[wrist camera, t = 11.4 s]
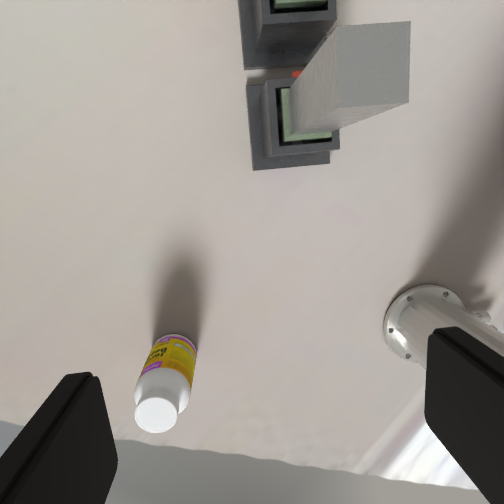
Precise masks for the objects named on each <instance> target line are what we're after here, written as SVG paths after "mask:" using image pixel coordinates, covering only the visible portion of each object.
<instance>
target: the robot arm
mask: <svg viewBox="0 0 504 504" xmlns="http://www.w3.org/2000/svg"><path fill="white" fill-rule="evenodd" d="M490 319H491V318H490V315H489V314H488V313H487V312H483V313H477V314H474V313H472V312H470V311H468V310H467V309H465V308H464V305H463V303H462V301H461V299H460V298H459V297H458V296H457V295H456V294H455V293H453V292H452V291H450V290H448V289H446V288H444V287H442V286H438V285H430V284H427V285H420V286H417V287H413V288H411V289H409V290H407V291H405V292H404V293H403V294H401V295H400V296H399V297H398V298H397V299H396V300H395V301H394V302H393V303H392V305H391V306H390V308H389V309H388V311H387V314H386V316H385V320H384V326H383V332H384V337H385V340H386V343H387V344H388V346H389V347H390V349H391V350H392V351H393V352H394V353H395V354H396V355H397V356H399V357H400V358H402V359H404V360H406V361H409V362H414V363H419V364H420V365H421V366H422V367H423V368H425V369H426V388H425V410H424V413H425V419H426V422H427V424H428V426H429V427H430V429H431V430H432V431H433V433H434V434H435V435H436V436H437V438H438V439H439V440H440V441H441V443H442V444H443V445H444V446H445V448H446V449H447V450H448V451H449V453H450V454H451V455H452V456H453V458H454V459H455V460H456V461H457V463H458V464H459V465H460V466H461V468H462V469H463V470H464V471H465V473H466V474H467V475H468V476H469V478H470V479H471V480H472V481H473V483H474V484H475V485H476V486H477V488H478V489H479V490H480V491H481V493H482V494H483V495H484V496H485V498H486V499H487V500H488V501H489V503H490V504H504V334H503V333H501V332H500V331H498V330H497V328H496V327H495V326H493V325H487V324H486V323H484V322H489V321H490ZM117 462H118V457H117V452H116V448H115V444H114V439H113V435H112V430H111V426H110V422H109V418H108V413H107V409H106V405H105V401H104V396H103V392H102V388H101V384H100V380H99V378H98V377H97V376H94V377H93V375H92V374H91V372H82V373H74V374H68V375H66V376H64V377H63V379H62V380H61V381H60V383H59V384H58V385H57V386H56V388H55V389H54V390H53V391H52V393H51V394H50V395H49V397H48V398H47V399H46V400H45V402H44V403H43V404H42V405H41V407H40V408H39V409H38V410H37V412H36V413H35V414H34V416H33V417H32V418H31V419H30V421H29V422H28V423H27V424H26V426H25V427H24V428H23V430H22V431H21V432H20V433H19V435H18V436H17V437H16V438H15V440H14V441H13V442H12V444H11V445H10V446H9V447H8V449H7V450H6V451H5V452H4V454H3V455H2V456H1V458H0V504H105V501H106V498H107V495H108V493H109V490H110V487H111V484H112V482H113V479H114V476H115V474H116V470H117V464H118V463H117Z"/></svg>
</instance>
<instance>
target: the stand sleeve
mask: <svg viewBox="0 0 504 504" xmlns="http://www.w3.org/2000/svg"><path fill="white" fill-rule="evenodd" d="M301 72H302V71H294V72H293V73H292V75H291V78H281V79H268V80H266V82H265V84H264V85H252V86H246V97H247V109H248V120H249V132H250V143H251V154H252V166H253V171H255V170H265V169H276V168H287V167H297V166H308V165H319V164H329V163H330V156H329V151H333V150H338V149H340V140H339V129H337V130H335V131H332V137H330V138H322V139H311V140H300V141H289V142H283V135H282V120H281V104H280V90H281V89H287V88H290V87H291V86H292V84H293V83H294V82H295V80H296V79H297V78H298V76H299V75H300V74H301Z"/></svg>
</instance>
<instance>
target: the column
mask: <svg viewBox="0 0 504 504" xmlns="http://www.w3.org/2000/svg"><path fill="white" fill-rule="evenodd" d="M410 25H411V21H405V22H391V23H377V24H363V25H349V26H337V27H336V28H335V29H334V31H333V32H332V33H331V35H330V36H329V37H328V38H327V40H326V41H325V42H324V44H323V45H322V46H321V48H320V49H319V50H318V52H317V53H316V54H315V55H314V57H313V58H312V59H311V61H310V62H309V63H308V65H307V66H306V67H305V69H304V70H303V71H302V72H301V74H300V75H299V76H298V78H297V79H296V80H295V82H294V83H293V84H292V86H291V87H290V88H287V89H281V90H280V104H281V120H282V135H283V142H289V141H300V140H311V139H322V138H330V137H332V131H335V130H337V129H340V128H342V127H345V126H348V125H350V124H353V123H356V122H358V121H361V120H363V119H366V118H369V117H371V116H374V115H377V114H379V113H382V112H385V111H387V110H390V109H392V108H395V107H398V106H400V105H403V104H406V103H408V102H409V66H410Z"/></svg>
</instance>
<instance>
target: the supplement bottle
mask: <svg viewBox="0 0 504 504" xmlns="http://www.w3.org/2000/svg"><path fill="white" fill-rule="evenodd" d="M196 356H197V354H196V349H195V346H194V345H193V343H192V342H191V341H190V340H189V339H188V338H186V337H184V336H181V335H177V334H170V335H166V336H163V337H161V338H160V339H158V340H157V341H156V342H155V344H154V345H153V347H152V349H151V351H150V354H149V356H148V358H147V360H146V363H145V365H144V367H143V370H142V372H141V375H140V377H139V379H138V382H137V384H136V387H135V391H134V398H135V402H136V405H137V407H136V409H135V420H136V422H137V424H138V425H139V426H140V427H141V428H142V429H144V430H146V431H148V432H152V433H161V432H164V431H167V430H169V429H170V428H171V427H172V426H173V425H174V424H175V422H176V420H177V417H178V414H179V413H181V412H182V411H183V410H184V409H185V407H186V406H187V404H188V402H189V399H190V393H191V387H192V381H193V375H194V369H195V364H196Z"/></svg>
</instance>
